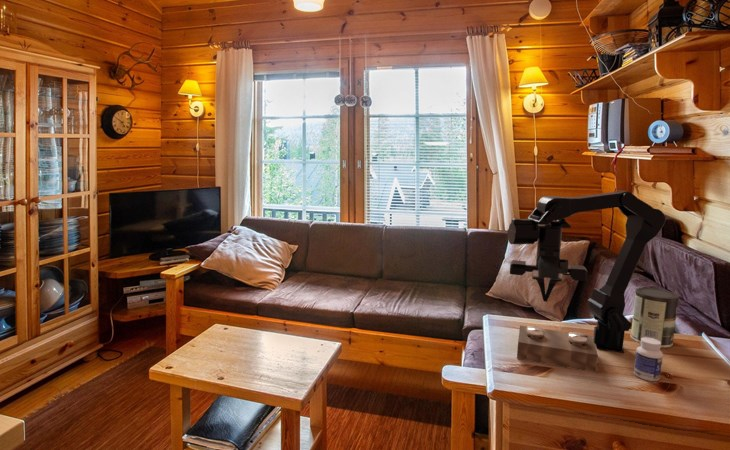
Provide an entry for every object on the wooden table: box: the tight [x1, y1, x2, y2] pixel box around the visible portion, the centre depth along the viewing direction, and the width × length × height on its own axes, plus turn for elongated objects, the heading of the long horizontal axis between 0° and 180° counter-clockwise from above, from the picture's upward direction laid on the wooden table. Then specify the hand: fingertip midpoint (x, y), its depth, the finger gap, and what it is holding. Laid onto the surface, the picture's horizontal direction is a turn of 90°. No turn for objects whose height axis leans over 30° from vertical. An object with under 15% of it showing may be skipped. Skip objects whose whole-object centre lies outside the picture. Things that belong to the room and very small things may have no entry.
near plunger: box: [568, 331, 589, 345], centre depth 110 cm, size 4×4×6 cm
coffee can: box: [630, 287, 680, 349], centre depth 122 cm, size 10×10×14 cm
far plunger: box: [526, 325, 545, 339], centre depth 114 cm, size 4×4×6 cm
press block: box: [516, 325, 599, 373], centre depth 112 cm, size 18×12×4 cm, turn 68°
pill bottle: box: [633, 337, 664, 382], centre depth 102 cm, size 5×5×9 cm
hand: (545, 301), depth 116 cm, fingers closed
